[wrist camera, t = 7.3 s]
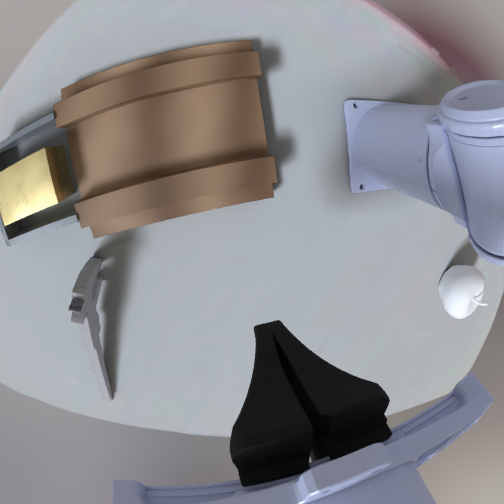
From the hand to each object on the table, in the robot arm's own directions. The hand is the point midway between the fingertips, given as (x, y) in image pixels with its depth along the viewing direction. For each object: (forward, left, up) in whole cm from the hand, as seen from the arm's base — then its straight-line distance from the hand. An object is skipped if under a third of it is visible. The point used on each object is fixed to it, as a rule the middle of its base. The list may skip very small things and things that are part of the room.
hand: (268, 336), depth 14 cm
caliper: (+16, +7, -10) cm, 20 cm away
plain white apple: (-27, +10, -10) cm, 31 cm away
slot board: (+4, -11, -10) cm, 15 cm away
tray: (+15, -11, -10) cm, 21 cm away
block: (+15, -10, -10) cm, 20 cm away
